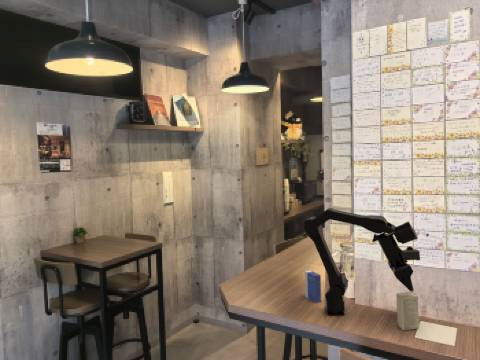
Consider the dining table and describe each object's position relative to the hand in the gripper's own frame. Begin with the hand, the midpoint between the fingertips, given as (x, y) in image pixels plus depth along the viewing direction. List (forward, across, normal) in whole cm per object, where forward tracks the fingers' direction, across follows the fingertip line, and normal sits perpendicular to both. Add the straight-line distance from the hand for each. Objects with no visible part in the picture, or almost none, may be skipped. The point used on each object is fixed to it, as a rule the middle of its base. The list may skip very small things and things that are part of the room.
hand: (409, 287), depth 143 cm
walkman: (-4, +18, +38) cm, 42 cm away
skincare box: (+12, -2, +7) cm, 14 cm away
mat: (+16, -5, -1) cm, 17 cm away
